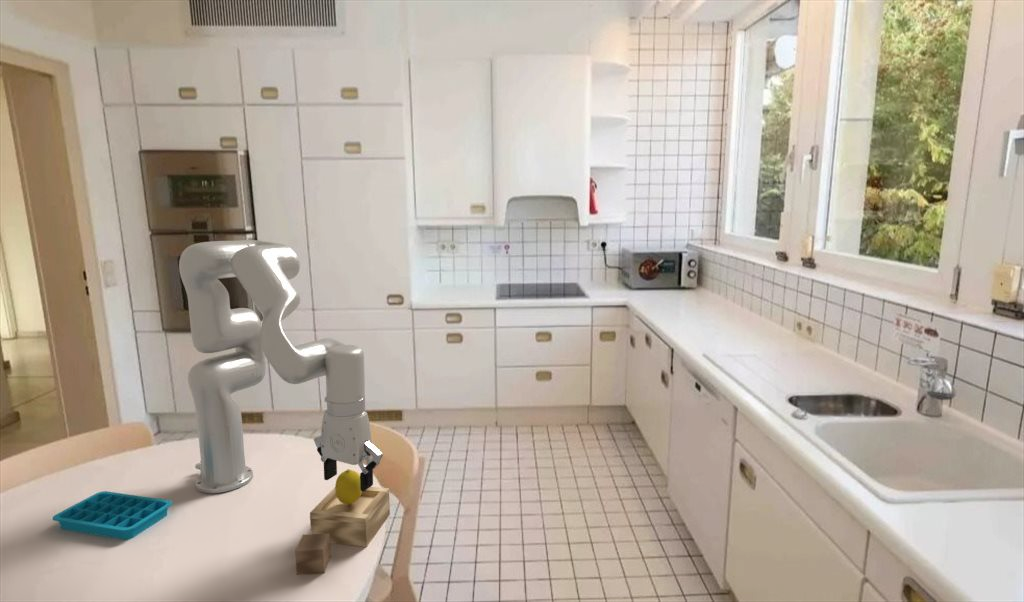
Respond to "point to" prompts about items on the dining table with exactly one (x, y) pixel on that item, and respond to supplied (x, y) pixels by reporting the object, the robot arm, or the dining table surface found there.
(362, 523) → the oak tray
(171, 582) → the dining table surface
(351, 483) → the lemon
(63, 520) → the ice cube tray
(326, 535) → the walnut cube
